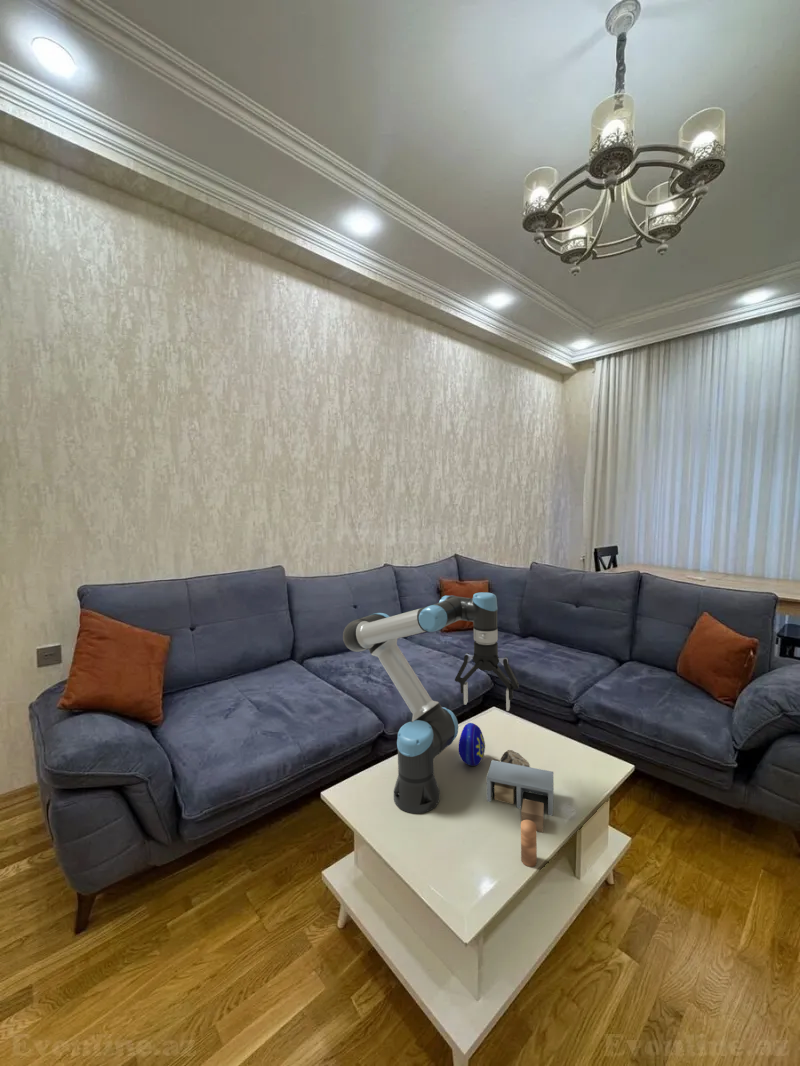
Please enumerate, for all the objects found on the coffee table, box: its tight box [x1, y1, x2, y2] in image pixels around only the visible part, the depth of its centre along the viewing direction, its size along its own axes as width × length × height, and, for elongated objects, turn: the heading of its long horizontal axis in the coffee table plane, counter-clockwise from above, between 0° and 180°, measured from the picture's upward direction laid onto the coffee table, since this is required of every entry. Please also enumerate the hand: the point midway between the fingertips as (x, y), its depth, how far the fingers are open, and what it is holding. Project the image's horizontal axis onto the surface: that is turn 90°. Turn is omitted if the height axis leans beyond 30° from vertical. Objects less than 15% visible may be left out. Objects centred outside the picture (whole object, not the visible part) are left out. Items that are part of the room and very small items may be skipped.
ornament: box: [457, 722, 486, 767], centre depth 159 cm, size 11×9×15 cm
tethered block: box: [520, 798, 545, 868], centre depth 122 cm, size 6×20×10 cm, turn 159°
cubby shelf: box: [486, 759, 555, 817], centre depth 139 cm, size 20×10×8 cm, turn 68°
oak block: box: [493, 782, 517, 805], centre depth 141 cm, size 6×6×5 cm
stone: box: [500, 749, 531, 767], centre depth 152 cm, size 7×12×7 cm, turn 33°
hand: (486, 705), depth 139 cm, fingers open, 13 cm apart
